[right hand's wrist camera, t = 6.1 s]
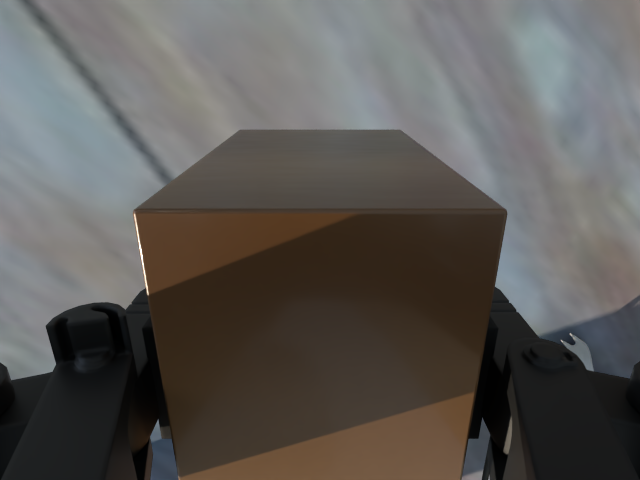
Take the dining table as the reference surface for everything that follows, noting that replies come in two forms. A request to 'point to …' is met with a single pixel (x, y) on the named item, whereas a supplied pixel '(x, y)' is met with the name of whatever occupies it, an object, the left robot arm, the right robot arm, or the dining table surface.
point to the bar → (320, 306)
